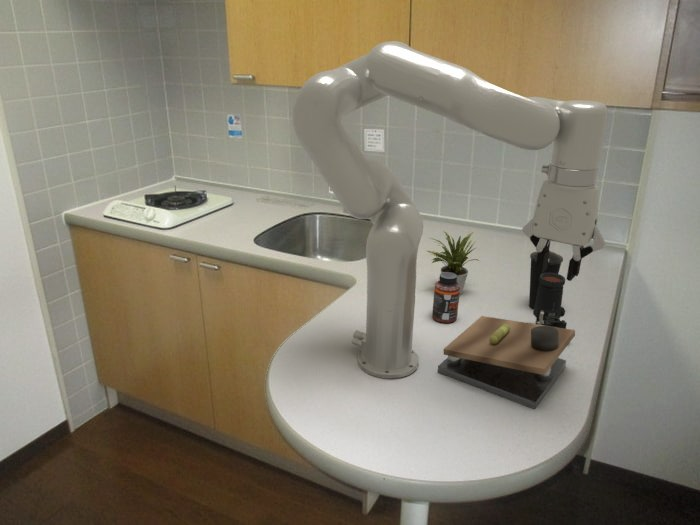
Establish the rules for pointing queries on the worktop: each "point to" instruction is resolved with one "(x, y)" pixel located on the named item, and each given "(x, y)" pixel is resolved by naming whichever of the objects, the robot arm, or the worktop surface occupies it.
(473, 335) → the levelling plate
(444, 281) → the supplement bottle
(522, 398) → the dark board base
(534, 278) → the drinking cup
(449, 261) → the house plant
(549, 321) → the scope
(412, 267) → the robot arm
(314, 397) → the worktop surface
